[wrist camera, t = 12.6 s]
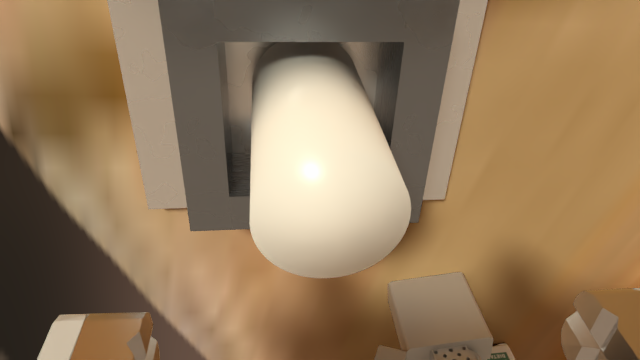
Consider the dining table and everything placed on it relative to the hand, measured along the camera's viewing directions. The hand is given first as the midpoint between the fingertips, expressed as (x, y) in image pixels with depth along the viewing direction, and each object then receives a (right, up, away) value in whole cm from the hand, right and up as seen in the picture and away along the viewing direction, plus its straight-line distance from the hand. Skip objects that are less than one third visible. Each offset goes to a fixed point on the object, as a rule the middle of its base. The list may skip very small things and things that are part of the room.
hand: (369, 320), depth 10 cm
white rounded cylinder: (-2, +6, +9) cm, 11 cm away
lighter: (+3, -3, +18) cm, 19 cm away
